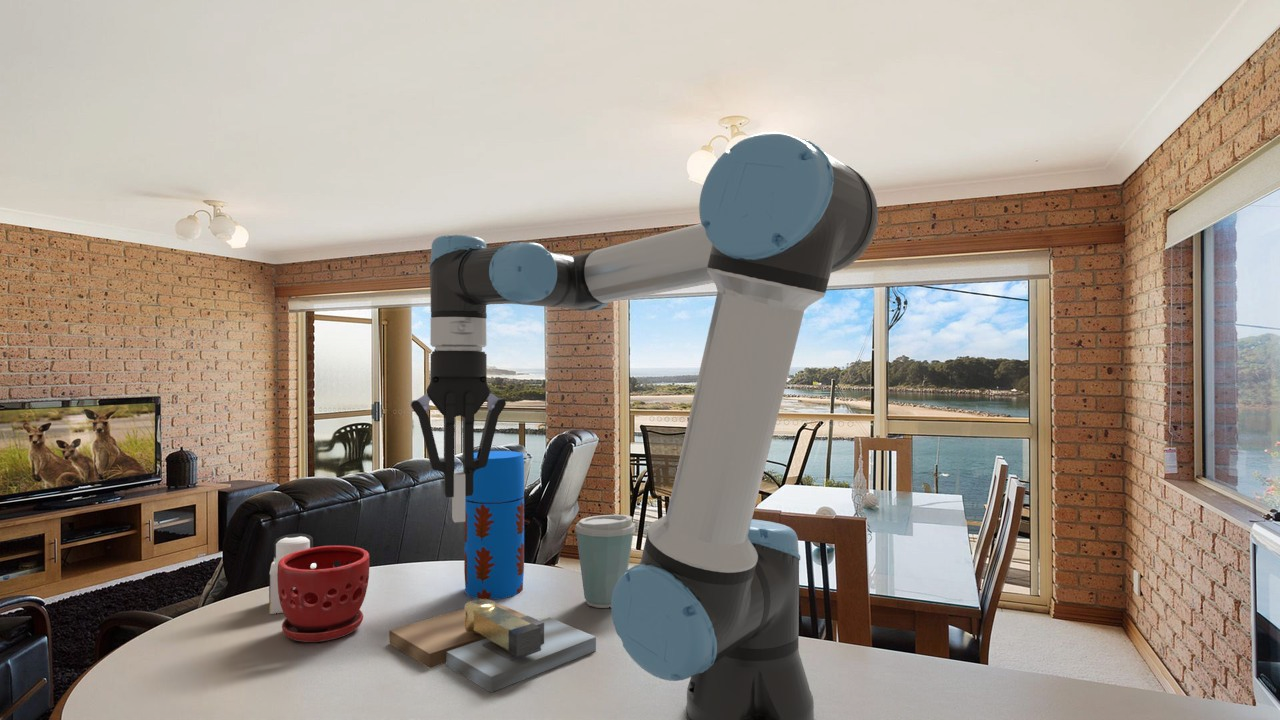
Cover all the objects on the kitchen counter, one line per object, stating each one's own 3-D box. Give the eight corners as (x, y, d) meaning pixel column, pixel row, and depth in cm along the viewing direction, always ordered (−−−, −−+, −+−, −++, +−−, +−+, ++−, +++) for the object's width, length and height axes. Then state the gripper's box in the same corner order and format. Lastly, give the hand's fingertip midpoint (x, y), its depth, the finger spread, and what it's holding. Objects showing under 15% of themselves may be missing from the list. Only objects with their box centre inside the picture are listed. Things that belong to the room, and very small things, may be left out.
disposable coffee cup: (563, 607, 120) (563, 520, 120) (591, 588, 129) (591, 508, 129) (619, 616, 115) (620, 526, 115) (644, 596, 125) (644, 513, 125)
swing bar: (459, 626, 104) (459, 603, 104) (485, 619, 107) (485, 597, 107) (514, 660, 92) (514, 634, 92) (542, 650, 95) (542, 625, 95)
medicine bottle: (271, 601, 123) (271, 533, 123) (316, 595, 126) (316, 529, 126) (269, 615, 116) (269, 543, 116) (316, 608, 119) (316, 538, 119)
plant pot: (257, 644, 104) (257, 564, 104) (317, 613, 117) (317, 542, 117) (332, 653, 101) (332, 570, 101) (386, 620, 114) (386, 547, 114)
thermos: (510, 601, 123) (510, 459, 123) (454, 597, 125) (454, 457, 125) (532, 582, 133) (532, 451, 133) (480, 578, 135) (480, 450, 135)
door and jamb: (596, 650, 102) (596, 616, 102) (477, 697, 88) (477, 658, 88) (501, 609, 119) (501, 580, 119) (389, 643, 104) (389, 610, 104)
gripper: (410, 348, 91) (410, 530, 91) (510, 349, 95) (510, 522, 95) (408, 349, 98) (407, 517, 98) (501, 350, 102) (501, 510, 102)
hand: (458, 519), depth 96 cm, fingers closed
